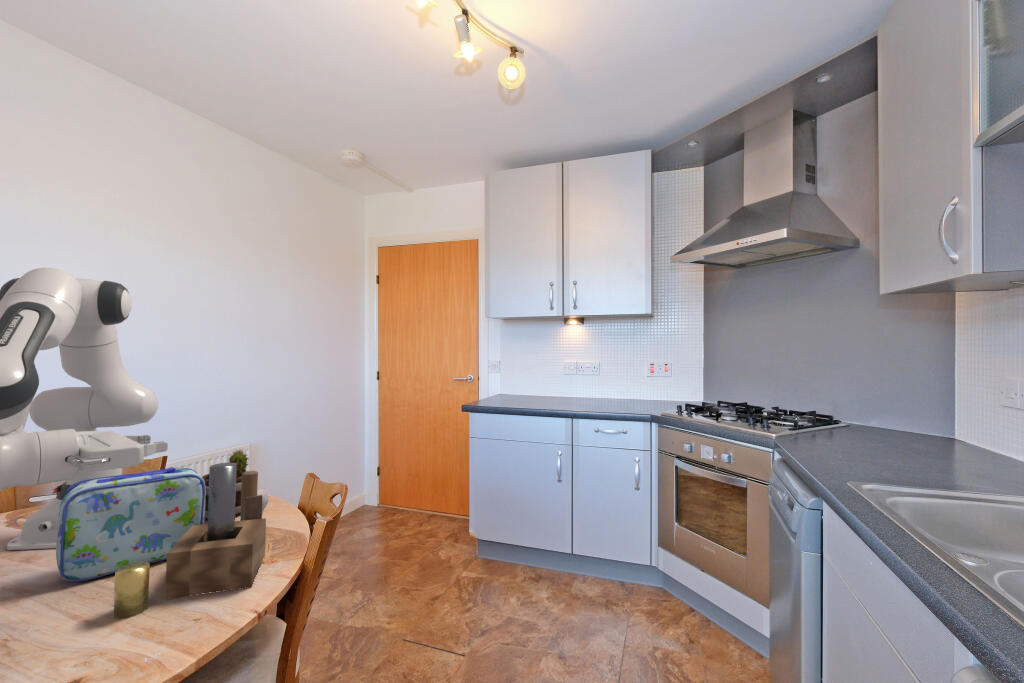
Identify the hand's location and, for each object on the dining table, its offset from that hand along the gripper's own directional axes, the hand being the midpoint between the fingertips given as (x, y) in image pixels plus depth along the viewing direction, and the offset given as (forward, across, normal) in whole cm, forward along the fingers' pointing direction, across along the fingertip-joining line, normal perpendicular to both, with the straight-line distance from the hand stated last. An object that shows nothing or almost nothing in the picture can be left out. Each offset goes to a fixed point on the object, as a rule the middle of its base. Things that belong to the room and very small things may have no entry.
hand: (157, 442), depth 89 cm
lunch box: (+3, +22, +32) cm, 38 cm away
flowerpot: (+28, +38, +32) cm, 57 cm away
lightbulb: (+28, +20, +32) cm, 47 cm away
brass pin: (-4, -2, +31) cm, 31 cm away
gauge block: (+12, 0, +31) cm, 33 cm away
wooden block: (+22, +9, +31) cm, 40 cm away
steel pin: (+12, 0, +31) cm, 33 cm away
